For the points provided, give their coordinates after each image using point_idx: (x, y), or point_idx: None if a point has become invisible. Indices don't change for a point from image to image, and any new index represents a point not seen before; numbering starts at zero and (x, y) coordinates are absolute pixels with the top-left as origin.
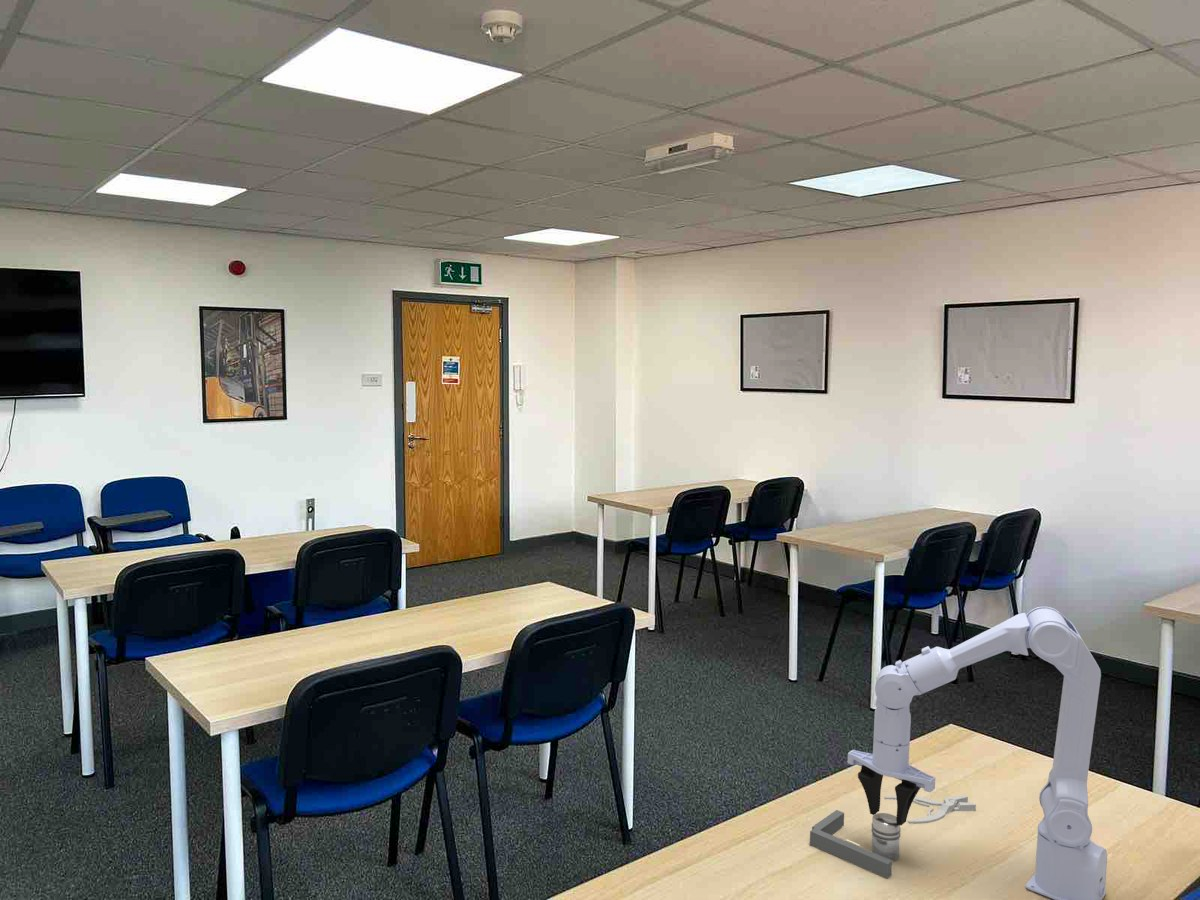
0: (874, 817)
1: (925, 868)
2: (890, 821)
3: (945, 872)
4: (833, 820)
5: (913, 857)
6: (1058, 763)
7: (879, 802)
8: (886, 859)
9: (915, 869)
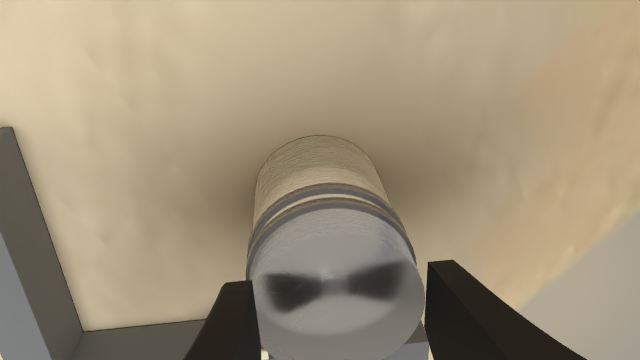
0: (270, 338)
1: (501, 158)
2: (369, 309)
3: (582, 119)
4: (16, 273)
5: (426, 118)
6: None
7: (247, 322)
8: (407, 351)
9: (469, 197)
